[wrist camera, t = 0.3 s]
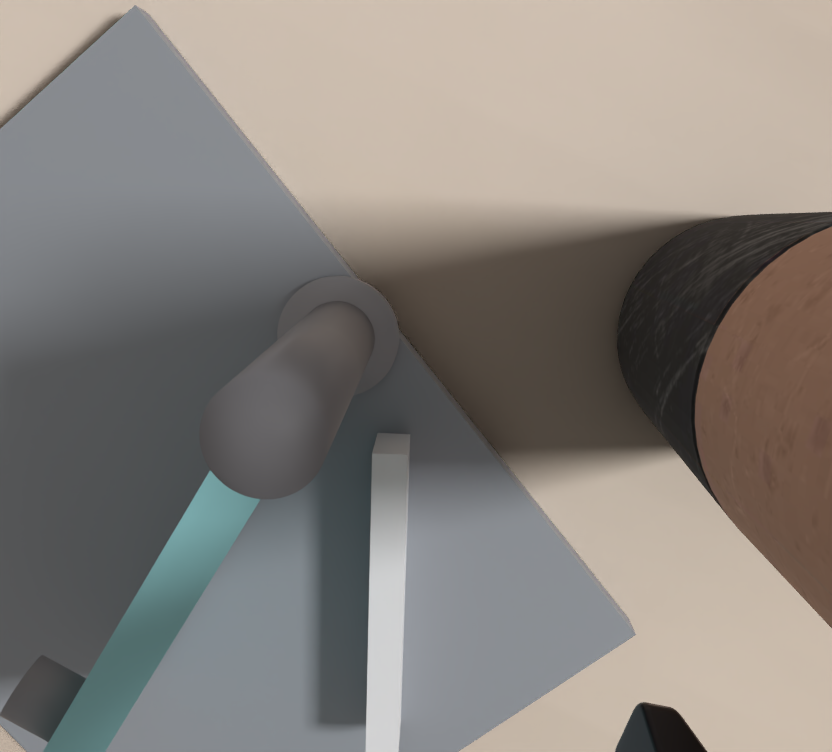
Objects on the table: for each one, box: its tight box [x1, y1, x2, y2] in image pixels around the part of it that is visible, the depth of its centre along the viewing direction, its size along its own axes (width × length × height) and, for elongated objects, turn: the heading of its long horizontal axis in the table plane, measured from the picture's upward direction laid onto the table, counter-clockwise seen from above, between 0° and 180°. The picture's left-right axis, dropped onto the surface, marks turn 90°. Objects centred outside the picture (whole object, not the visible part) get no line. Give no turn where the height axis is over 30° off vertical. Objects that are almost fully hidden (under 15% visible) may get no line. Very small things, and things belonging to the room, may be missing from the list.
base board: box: [0, 5, 636, 752], centre depth 25 cm, size 19×24×3 cm
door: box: [0, 301, 375, 752], centre depth 20 cm, size 14×3×10 cm, turn 148°
